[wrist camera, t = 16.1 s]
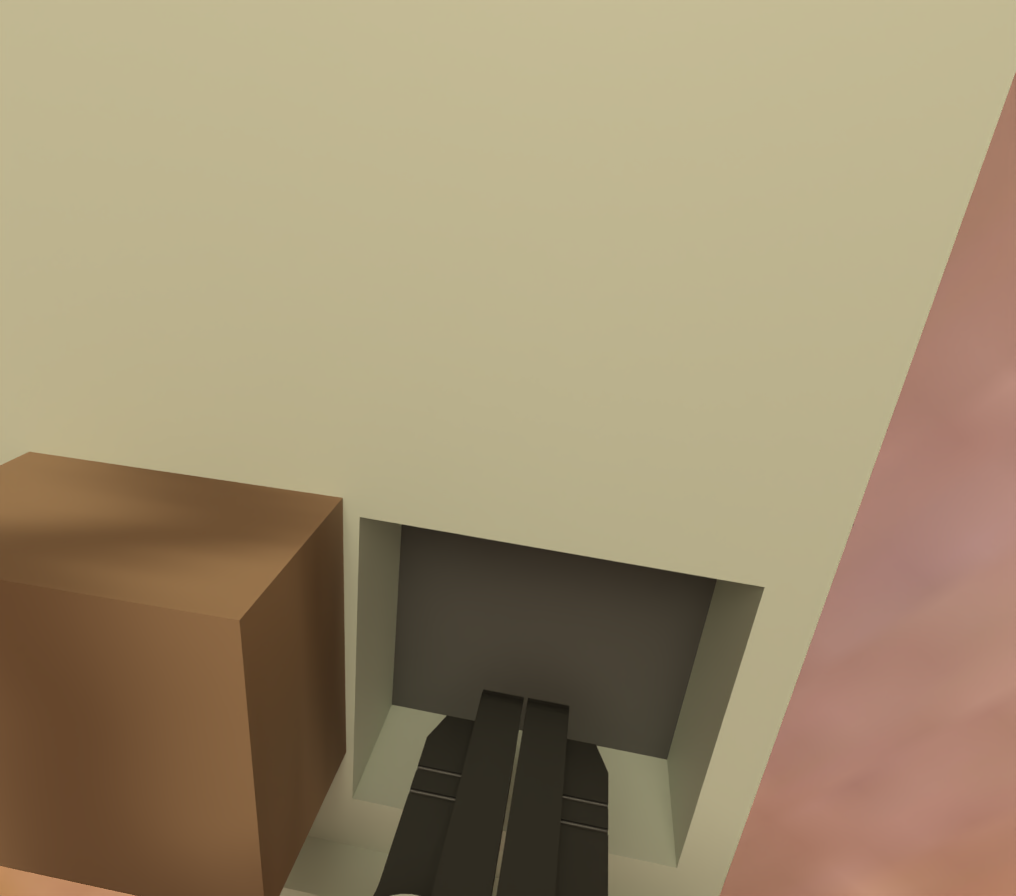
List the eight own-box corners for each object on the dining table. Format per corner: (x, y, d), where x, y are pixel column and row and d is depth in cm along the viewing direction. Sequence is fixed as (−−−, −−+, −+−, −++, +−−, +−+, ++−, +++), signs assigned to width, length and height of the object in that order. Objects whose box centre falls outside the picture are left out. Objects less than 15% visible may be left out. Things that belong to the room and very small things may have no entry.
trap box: (1087, -464, 8) (1670, -1250, 4) (683, 836, 18) (708, 1069, 13) (-572, -513, 11) (-1477, -1036, 6) (-157, 660, 20) (-388, 805, 15)
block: (342, 497, 12) (239, 620, 8) (346, 752, 14) (266, 924, 11) (29, 451, 12) (-179, 548, 9) (82, 702, 15) (-67, 851, 11)
